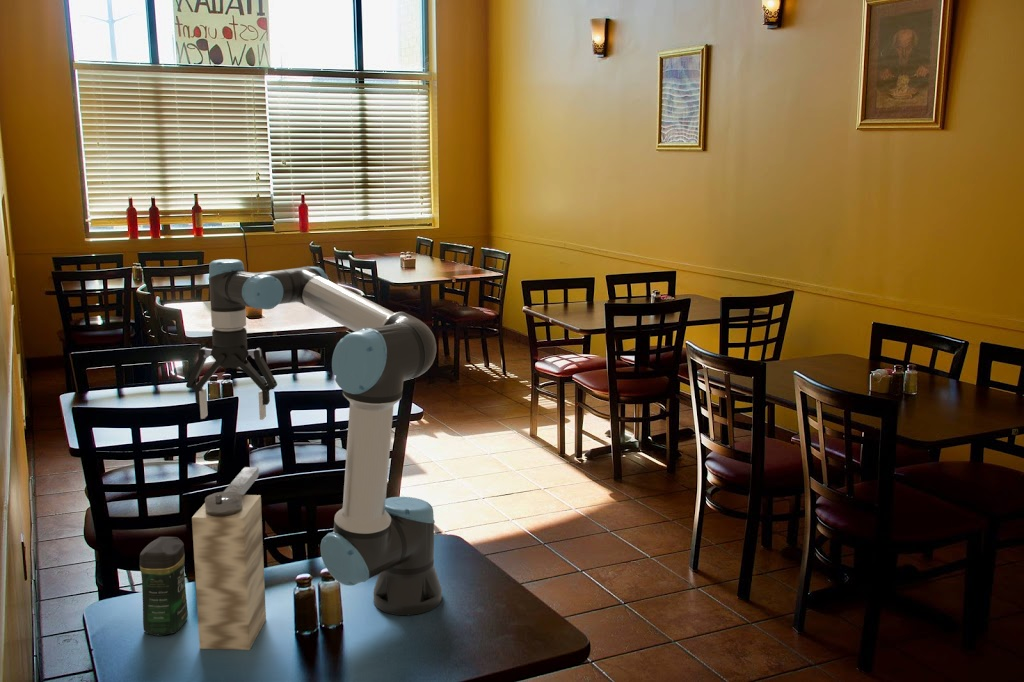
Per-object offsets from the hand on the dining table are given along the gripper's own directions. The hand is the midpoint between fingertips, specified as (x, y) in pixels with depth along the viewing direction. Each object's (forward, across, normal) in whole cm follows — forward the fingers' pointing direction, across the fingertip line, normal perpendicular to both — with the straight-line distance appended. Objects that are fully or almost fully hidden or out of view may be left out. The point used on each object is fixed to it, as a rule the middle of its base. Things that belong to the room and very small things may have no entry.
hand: (233, 417), depth 211 cm
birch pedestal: (+37, -8, +32) cm, 49 cm away
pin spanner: (+9, -8, +26) cm, 28 cm away
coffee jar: (+37, +7, +29) cm, 47 cm away
